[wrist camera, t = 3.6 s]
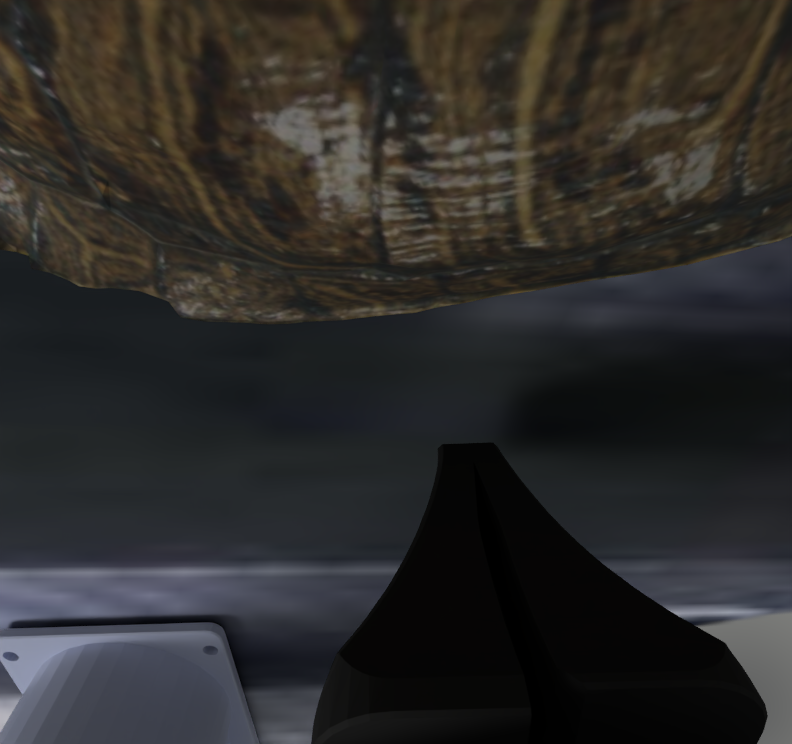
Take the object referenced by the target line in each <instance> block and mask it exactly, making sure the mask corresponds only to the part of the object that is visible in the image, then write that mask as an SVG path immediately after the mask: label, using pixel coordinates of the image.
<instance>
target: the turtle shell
mask: <svg viewBox="0 0 792 744" xmlns="http://www.w3.org/2000/svg"><path fill="white" fill-rule="evenodd" d="M791 236H792V0H0V250H7V251H14V252H18V253H21V254H25V255H28V257H29V261H30V264H31V268H32V269H36V270H41V271H46V272H50V273H52V274H55V275H57V276H60V277H62V278H64V279H67V280H69V281H71V282H73V283H74V284H76V285H78V286H82V287H90V288H118V289H127V290H136V291H142V292H144V293H147V294H150V295H153V296H155V297H158V298H161V299H164V300H166V301H169V303H170V304H171V305H172V306H173V308H174V309H175V310H176V312H177V313H178V314H179V316H180V317H182V318H188V319H194V320H200V321H209V322H246V323H257V324H288V323H298V322H307V321H331V320H346V319H355V318H363V317H371V316H381V315H393V314H405V313H416V312H420V311H424V310H428V309H432V308H436V307H442V306H448V305H455V304H461V303H466V302H471V301H475V300H480V299H484V298H489V297H494V296H501V295H508V294H515V293H522V292H529V291H535V290H541V289H546V288H552V287H557V286H563V285H569V284H574V283H580V282H585V281H591V280H598V279H604V278H611V277H618V276H624V275H631V274H638V273H644V272H650V271H655V270H661V269H666V268H672V267H678V266H683V265H688V264H692V263H696V262H699V261H703V260H707V259H711V258H715V257H719V256H723V255H727V254H730V253H734V252H738V251H742V250H746V249H750V248H754V247H758V246H761V245H765V244H769V243H773V242H777V241H780V240H783V239H785V238H788V237H791Z"/></svg>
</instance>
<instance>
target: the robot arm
mask: <svg viewBox="0 0 792 744" xmlns="http://www.w3.org/2000/svg"><path fill="white" fill-rule="evenodd" d="M0 660H1V662H2V664H3V665H4V667H5V668H6V670H7V671H8V673H9V674H10V676H11V677H12V679H13V680H14V682H15V684H16V685H17V687H18V688H19V690H20V691H21V693H22V694H23V696H22V697H21V699H20V700H19V702H18V704H17V705H16V707H15V709H14V710H13V712H12V714H11V715H10V717H9V719H8V720H7V722H6V724H5V725H4V727H3V729H2V730H1V732H0V744H259V741H258V737H257V734H256V731H255V728H254V724H253V721H252V718H251V715H250V712H249V708H248V705H247V702H246V699H245V695H244V692H243V689H242V686H241V683H240V679H239V676H238V673H237V670H236V666H235V663H234V660H233V657H232V653H231V650H230V647H229V644H228V641H227V637H226V634H225V631H224V630H223V628H222V627H221V626H219V625H218V624H215V623H211V622H200V623H168V624H136V625H105V626H73V627H41V628H9V629H2V630H0ZM766 720H767V711H766V707H765V703H764V702H763V700H762V698H761V697H760V695H759V693H758V692H757V690H756V688H755V687H754V685H753V683H752V681H751V680H750V678H749V677H748V675H747V674H746V672H745V670H744V669H743V667H742V666H741V665H740V663H739V662H738V661H737V659H736V658H735V657H734V655H733V654H732V652H731V651H730V650H729V648H728V647H727V645H726V644H725V643H724V642H722V641H721V640H719V639H717V638H715V637H714V636H712V635H710V634H708V633H706V632H705V631H703V630H701V629H700V628H698V627H696V626H694V625H693V624H691V623H689V622H687V621H686V620H684V619H682V618H680V617H679V616H677V615H675V614H674V613H672V612H670V611H669V610H667V609H666V608H664V607H663V606H661V605H659V604H658V603H656V602H655V601H653V600H652V599H650V598H649V597H647V596H646V595H644V594H643V593H641V592H640V591H638V590H637V589H636V588H634V587H633V586H631V585H630V584H629V583H627V582H626V581H625V580H623V579H622V578H621V577H619V576H618V575H617V574H615V573H614V572H613V571H611V570H610V569H609V568H607V567H606V566H605V565H603V564H602V563H601V562H600V561H599V560H597V559H596V558H595V557H594V556H593V555H592V554H590V553H589V552H588V551H587V550H586V549H585V548H584V547H583V546H581V545H580V544H579V543H578V542H577V541H576V540H575V539H574V538H573V537H572V536H571V535H570V534H569V533H568V532H567V531H566V530H565V529H564V528H563V527H562V526H561V525H560V524H559V523H558V522H557V521H556V520H555V519H554V518H553V517H552V516H551V515H550V514H549V513H548V512H547V511H546V509H545V508H544V507H543V506H542V505H541V504H540V503H539V501H538V500H537V499H536V498H535V497H534V495H533V494H532V493H531V492H530V491H529V490H528V488H527V487H526V486H525V485H524V483H523V482H522V481H521V480H520V478H519V477H518V476H517V474H516V473H515V472H514V470H513V469H512V468H511V466H510V465H509V463H508V462H507V461H506V459H505V458H504V456H503V455H502V453H501V452H500V450H499V449H498V447H497V446H496V445H495V444H494V443H468V444H443V445H441V446H440V447H439V448H438V467H437V473H436V477H435V482H434V485H433V489H432V492H431V496H430V499H429V503H428V505H427V508H426V511H425V513H424V516H423V519H422V521H421V524H420V526H419V529H418V531H417V533H416V536H415V538H414V540H413V542H412V544H411V546H410V548H409V550H408V552H407V554H406V556H405V558H404V560H403V562H402V564H401V565H400V567H399V569H398V571H397V572H396V574H395V576H394V578H393V579H392V581H391V583H390V584H389V586H388V587H387V589H386V590H385V592H384V593H383V595H382V596H381V598H380V599H379V600H378V602H377V603H376V605H375V606H374V608H373V609H372V610H371V612H370V613H369V615H368V616H367V618H366V619H365V620H364V621H363V623H362V624H361V625H360V627H359V628H358V629H357V630H356V631H355V632H354V634H353V635H352V636H351V637H350V638H349V640H348V641H347V642H346V643H345V644H344V646H343V647H342V648H341V649H340V650H339V652H338V653H337V654H336V657H335V659H334V662H333V664H332V667H331V669H330V671H329V674H328V676H327V679H326V682H325V685H324V687H323V690H322V693H321V696H320V700H319V703H318V707H317V711H316V715H315V719H314V725H313V733H312V742H311V744H757V742H758V740H759V738H760V737H761V735H762V733H763V730H764V727H765V723H766Z"/></svg>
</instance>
